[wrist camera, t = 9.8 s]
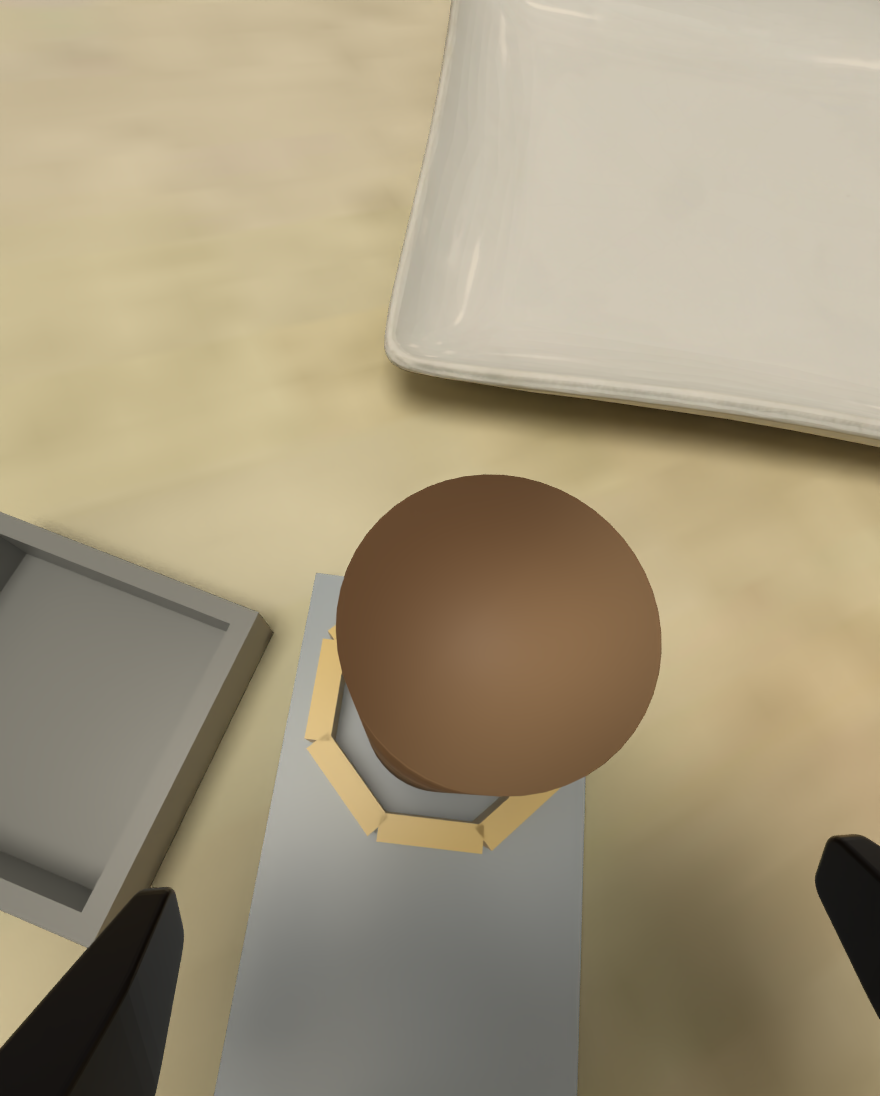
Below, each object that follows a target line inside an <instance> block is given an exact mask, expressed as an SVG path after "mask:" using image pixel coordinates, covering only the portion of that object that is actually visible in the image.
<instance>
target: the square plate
mask: <svg viewBox="0 0 880 1096" xmlns="http://www.w3.org/2000/svg"><path fill="white" fill-rule="evenodd" d="M384 347H385V352H386V355H387V357H388V358H389V360H390V362H391V363H393V364H394V365H396V366H397V367H399V368H400V369H403V370H406V371H409V372H414V373H419V374H424V375H429V376H434V377H439V378H444V379H451V380H458V381H465V382H472V383H478V384H484V385H490V386H497V387H503V388H509V389H516V390H522V391H528V392H535V393H543V394H552V395H560V396H569V397H577V398H585V399H592V400H600V401H607V402H614V403H621V404H628V405H635V406H642V407H649V408H656V409H663V410H670V411H676V412H683V413H690V414H697V415H704V416H711V417H718V418H724V419H731V420H736V421H742V422H748V423H754V424H759V425H765V426H771V427H776V428H782V429H788V430H794V431H799V432H804V433H809V434H814V435H820V436H825V437H830V438H835V439H840V440H845V441H850V442H855V443H861V444H866V445H871V446H876V447H880V0H451V8H450V16H449V23H448V30H447V37H446V42H445V49H444V56H443V62H442V68H441V74H440V80H439V86H438V91H437V97H436V102H435V107H434V111H433V116H432V121H431V126H430V131H429V136H428V141H427V145H426V149H425V154H424V158H423V162H422V167H421V171H420V175H419V180H418V184H417V188H416V192H415V197H414V201H413V205H412V209H411V213H410V218H409V222H408V226H407V230H406V234H405V239H404V243H403V247H402V251H401V256H400V260H399V264H398V269H397V273H396V277H395V282H394V286H393V291H392V295H391V300H390V304H389V309H388V316H387V323H386V330H385V345H384Z"/></svg>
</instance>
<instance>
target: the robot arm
mask: <svg viewBox="0 0 880 1096" xmlns="http://www.w3.org/2000/svg"><path fill="white" fill-rule="evenodd" d="M815 884H816V889H817V892H818V895H819V897H820V899H821V902H822V904H823V906H824V908H825V910H826V912H827V914H828V916H829V918H830V920H831V922H832V924H833V926H834V928H835V930H836V933H837V935H838V937H839V939H840V941H841V943H842V945H843V947H844V949H845V951H846V953H847V955H848V957H849V959H850V961H851V964H852V966H853V968H854V970H855V972H856V974H857V976H858V978H859V980H860V982H861V984H862V986H863V988H864V990H865V992H866V994H867V996H868V998H869V1000H870V1002H871V1004H872V1006H873V1008H874V1010H875V1012H876V1014H877V1015H878V1017H879V1019H880V846H879V845H877V844H876V843H874V842H873V841H871V840H869V839H868V838H866V837H864V836H861V835H857V834H850V835H837V836H832V837H831V838H829V839H828V841H827V843H826V845H825V848H824V851H823V854H822V857H821V860H820V863H819V866H818V869H817V872H816V875H815ZM183 942H184V930H183V925H182V921H181V916H180V912H179V907H178V903H177V898H176V894H175V892H174V890H173V889H172V888H170V887H162V888H149V889H143V890H140V891H139V892H137V893H136V894H135V895H134V896H133V897H132V898H131V899H130V900H129V902H128V903H127V904H126V905H125V906H124V907H123V908H122V910H121V911H120V912H119V913H118V914H117V915H116V916H115V918H114V919H113V920H112V921H111V922H110V923H109V924H108V926H107V927H106V928H105V929H104V930H103V931H102V932H101V934H100V935H99V936H98V937H97V938H96V939H95V940H94V942H93V943H92V944H91V945H90V946H89V947H88V949H87V950H86V951H85V952H84V953H83V954H82V955H81V957H80V958H79V959H78V960H77V961H76V962H75V963H74V965H73V966H72V967H71V968H70V969H69V970H68V971H67V973H66V974H65V975H64V976H63V977H62V978H61V979H60V981H59V982H58V983H57V984H56V985H55V986H54V987H53V989H52V990H51V991H50V992H49V993H48V994H47V995H46V997H45V998H44V999H43V1000H42V1001H41V1002H40V1003H39V1005H38V1006H37V1007H36V1008H35V1009H34V1010H33V1012H32V1013H31V1014H30V1015H29V1016H28V1017H27V1018H26V1020H25V1021H24V1022H23V1023H22V1024H21V1025H20V1026H19V1028H18V1029H17V1030H16V1031H15V1032H14V1033H13V1034H12V1036H11V1037H10V1038H9V1039H8V1040H7V1041H6V1042H5V1044H4V1045H3V1046H2V1047H1V1048H0V1096H155V1093H156V1089H157V1084H158V1079H159V1075H160V1070H161V1065H162V1059H163V1054H164V1048H165V1043H166V1037H167V1032H168V1027H169V1021H170V1016H171V1010H172V1005H173V999H174V994H175V989H176V983H177V978H178V972H179V967H180V962H181V956H182V950H183Z"/></svg>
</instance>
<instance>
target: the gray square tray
mask: <svg viewBox="0 0 880 1096" xmlns="http://www.w3.org/2000/svg"><path fill="white" fill-rule="evenodd" d="M272 634H273V631H272V630H271V629H270V627H269V626H268V624H267V623H266V622H265V620H264V619H263V618H262V616H261V615H260V614H259V612H256V611H253V610H251V609H248V608H246V607H243V606H241V605H238V604H236V603H233V602H230V601H228V600H225V599H223V598H220V597H218V596H215V595H212V594H210V593H207V592H205V591H202V590H200V589H197V588H194V587H192V586H189V585H187V584H184V583H182V582H179V581H176V580H174V579H171V578H169V577H166V576H164V575H161V574H158V573H156V572H153V571H151V570H148V569H146V568H143V567H141V566H138V565H135V564H133V563H130V562H128V561H125V560H123V559H120V558H117V557H115V556H112V555H110V554H107V553H105V552H102V551H99V550H97V549H94V548H92V547H89V546H87V545H84V544H81V543H79V542H76V541H74V540H71V539H69V538H66V537H64V536H61V535H58V534H56V533H53V532H51V531H48V530H46V529H43V528H40V527H38V526H35V525H33V524H30V523H28V522H25V521H22V520H20V519H17V518H15V517H12V516H10V515H7V514H4V513H2V512H0V910H1V911H3V912H6V913H8V914H10V915H13V916H15V917H17V918H20V919H22V920H24V921H27V922H29V923H31V924H34V925H36V926H38V927H40V928H43V929H45V930H47V931H50V932H52V933H54V934H57V935H59V936H61V937H64V938H66V939H68V940H71V941H73V942H75V943H77V944H80V945H82V946H84V947H87V948H88V947H89V946H90V945H91V944H92V943H93V942H94V940H95V939H96V938H97V937H98V936H99V935H100V934H101V932H102V931H103V930H104V929H105V928H106V927H107V926H108V924H109V923H110V922H111V921H112V920H113V919H114V918H115V916H116V915H117V914H118V913H119V912H120V911H121V910H122V908H123V907H124V906H125V905H126V904H127V903H128V902H129V900H130V899H131V898H132V897H133V896H134V895H135V894H136V893H137V892H139V891H140V890H143V889H149V887H150V885H151V883H152V881H153V879H154V877H155V875H156V873H157V871H158V869H159V867H160V865H161V863H162V861H163V859H164V857H165V854H166V852H167V850H168V848H169V846H170V844H171V842H172V840H173V838H174V836H175V834H176V832H177V830H178V828H179V826H180V824H181V822H182V819H183V817H184V815H185V813H186V811H187V809H188V807H189V805H190V803H191V801H192V799H193V797H194V795H195V793H196V791H197V789H198V787H199V784H200V782H201V780H202V778H203V776H204V774H205V772H206V770H207V768H208V766H209V764H210V762H211V760H212V758H213V756H214V754H215V752H216V749H217V747H218V745H219V743H220V741H221V739H222V737H223V735H224V733H225V731H226V729H227V727H228V725H229V723H230V721H231V719H232V717H233V714H234V712H235V710H236V708H237V706H238V704H239V702H240V700H241V698H242V696H243V694H244V692H245V690H246V688H247V686H248V684H249V682H250V679H251V677H252V675H253V673H254V671H255V669H256V667H257V665H258V663H259V661H260V659H261V657H262V655H263V653H264V651H265V649H266V647H267V644H268V642H269V640H270V638H271V636H272Z"/></svg>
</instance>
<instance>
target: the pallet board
mask: <svg viewBox="0 0 880 1096" xmlns="http://www.w3.org/2000/svg"><path fill="white" fill-rule="evenodd" d="M343 579H344V576H336V575H328V574H321V573H316V576H315V581H314V586H313V591H312V596H311V602H310V607H309V612H308V617H307V622H306V627H305V632H304V637H303V642H302V648H301V653H300V658H299V663H298V668H297V673H296V678H295V683H294V688H293V694H292V699H291V704H290V709H289V714H288V719H287V724H286V729H285V734H284V740H283V745H282V750H281V755H280V760H279V765H278V770H277V775H276V780H275V786H274V791H273V796H272V801H271V806H270V811H269V816H268V821H267V827H266V832H265V837H264V842H263V847H262V852H261V857H260V862H259V867H258V873H257V878H256V883H255V888H254V893H253V898H252V903H251V908H250V913H249V919H248V924H247V929H246V934H245V939H244V944H243V949H242V954H241V959H240V965H239V970H238V975H237V980H236V985H235V990H234V995H233V1000H232V1005H231V1011H230V1016H229V1021H228V1026H227V1031H226V1036H225V1041H224V1046H223V1051H222V1057H221V1062H220V1067H219V1072H218V1077H217V1082H216V1087H215V1092H214V1096H577V1083H578V1045H579V1007H580V968H581V930H582V891H583V853H584V815H585V777H583V778H581V779H579V780H577V781H575V782H573V783H571V784H568V785H566V786H563V787H560V788H557V789H554V790H551V791H547V792H544V793H538V794H532V795H526V796H500V797H498V796H484V795H469V794H455V793H441V792H431V791H425V790H421V789H418V788H415V787H412V786H410V785H408V784H406V783H404V782H403V781H401V780H399V779H398V778H396V777H395V776H394V775H393V774H391V773H390V772H389V771H388V770H387V769H386V768H385V767H384V766H383V764H382V763H381V762H380V760H379V759H378V758H377V756H376V754H375V752H374V751H373V749H372V747H371V744H370V742H369V739H368V737H367V734H366V732H365V730H364V727H363V725H362V722H361V720H360V717H359V715H358V712H357V710H356V707H355V705H354V702H353V700H352V698H351V695H350V692H349V690H348V687H347V684H346V682H345V679H344V676H343V674H342V669H341V665H340V661H339V656H338V651H337V640H336V612H337V604H338V599H339V594H340V588H341V585H342V582H343Z"/></svg>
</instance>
